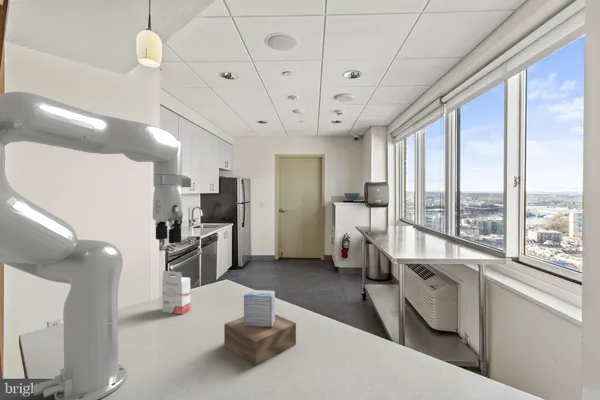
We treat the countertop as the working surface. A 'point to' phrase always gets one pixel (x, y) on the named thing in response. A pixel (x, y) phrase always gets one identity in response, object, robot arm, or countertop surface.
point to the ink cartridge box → (175, 293)
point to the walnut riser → (259, 339)
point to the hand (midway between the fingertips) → (168, 240)
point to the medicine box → (259, 308)
